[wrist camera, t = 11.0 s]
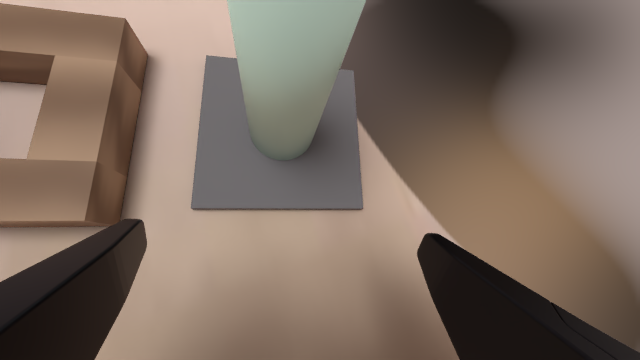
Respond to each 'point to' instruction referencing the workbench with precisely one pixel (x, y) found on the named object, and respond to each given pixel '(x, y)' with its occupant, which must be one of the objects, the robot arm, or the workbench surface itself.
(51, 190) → the socket block
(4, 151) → the workbench surface
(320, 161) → the mat
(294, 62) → the pin
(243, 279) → the workbench surface
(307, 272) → the workbench surface
